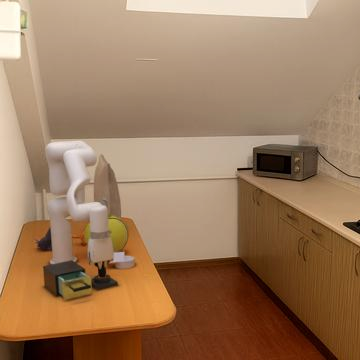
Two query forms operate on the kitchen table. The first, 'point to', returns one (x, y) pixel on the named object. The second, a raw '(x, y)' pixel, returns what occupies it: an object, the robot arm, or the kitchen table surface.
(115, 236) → the toy
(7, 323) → the kitchen table surface
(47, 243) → the dragon figurine
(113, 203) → the pillow
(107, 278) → the control block
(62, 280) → the tray
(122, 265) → the wedge on round base
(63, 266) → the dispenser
